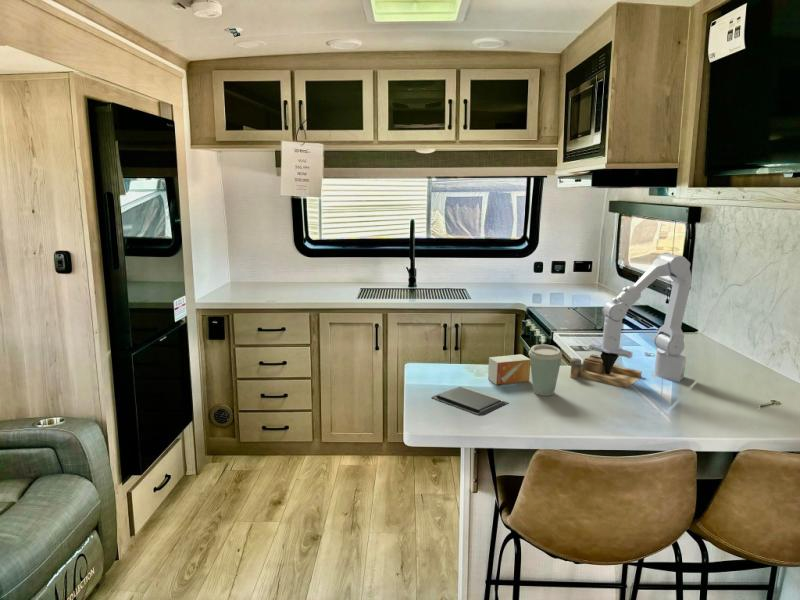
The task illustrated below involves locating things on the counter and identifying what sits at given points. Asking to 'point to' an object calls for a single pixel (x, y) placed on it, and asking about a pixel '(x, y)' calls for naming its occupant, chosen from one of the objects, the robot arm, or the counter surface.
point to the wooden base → (616, 377)
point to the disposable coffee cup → (544, 368)
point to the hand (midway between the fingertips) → (608, 373)
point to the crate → (594, 365)
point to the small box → (509, 369)
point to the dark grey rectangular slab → (470, 401)
